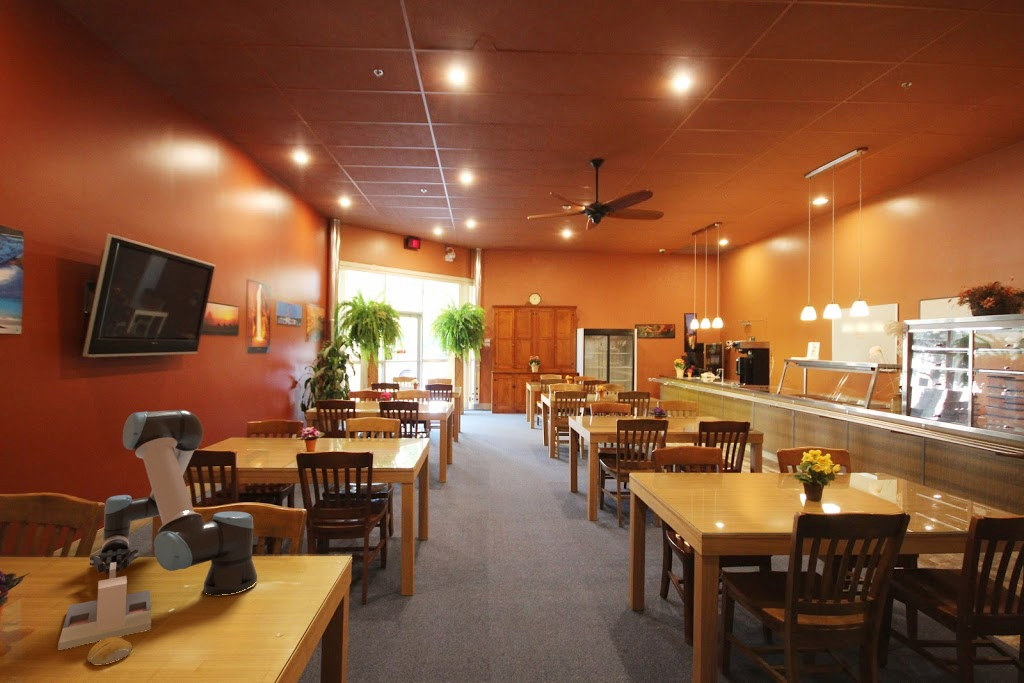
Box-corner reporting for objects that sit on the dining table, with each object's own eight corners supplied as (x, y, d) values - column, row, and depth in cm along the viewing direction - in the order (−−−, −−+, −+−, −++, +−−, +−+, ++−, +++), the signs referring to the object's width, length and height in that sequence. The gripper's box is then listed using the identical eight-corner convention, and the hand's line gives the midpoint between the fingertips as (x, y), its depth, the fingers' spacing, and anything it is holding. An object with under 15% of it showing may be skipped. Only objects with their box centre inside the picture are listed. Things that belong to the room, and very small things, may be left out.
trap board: (69, 612, 151) (69, 605, 151) (149, 596, 162) (150, 589, 162) (62, 636, 138) (62, 628, 138) (150, 617, 149) (150, 610, 149)
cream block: (96, 622, 142) (98, 580, 142) (124, 616, 145) (126, 575, 146) (96, 632, 137) (98, 588, 137) (124, 625, 140) (126, 583, 141)
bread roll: (120, 644, 135) (120, 628, 136) (136, 655, 131) (137, 638, 131) (80, 659, 128) (81, 642, 129) (96, 671, 124) (97, 653, 124)
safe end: (62, 636, 138) (62, 628, 138) (150, 617, 149) (150, 610, 149) (58, 651, 131) (58, 642, 131) (150, 630, 142) (151, 622, 142)
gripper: (138, 557, 183) (138, 581, 163) (90, 565, 175) (84, 591, 156) (139, 535, 183) (139, 557, 163) (91, 542, 175) (85, 565, 156)
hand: (112, 573), depth 160 cm, fingers closed
